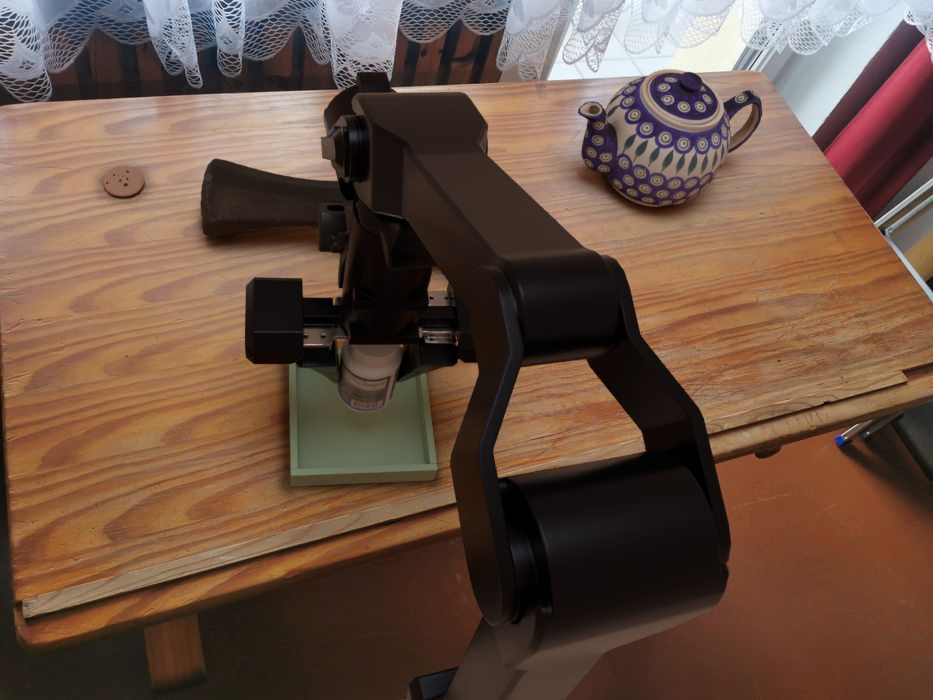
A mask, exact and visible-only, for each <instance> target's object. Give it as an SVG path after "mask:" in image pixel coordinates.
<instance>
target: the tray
mask: <svg viewBox="0 0 933 700" xmlns="http://www.w3.org/2000/svg"><path fill="white" fill-rule="evenodd" d="M338 355H339V367H340V358H341V348H338ZM288 401H289V402H288V408H289V410H288V413H289V414H288V415H289V417H288V418H289V419H288V421H289V485H290V487H309V486H310V487H312V486H334V485H351V484H352V485H357V484H379V483H381V484H382V483H383V484H384V483H403V482H427V481H430V482H431V481H434V480H435V477H436V474H437V472H438V470H439V469H438V464H437V463H438V462H437V452H436V445H435V436H434V428H433V422H432V421H433V419H432V411H431V403H430V401H431V400H430V394H429V384H428V377H427V373H424V374H421V375H419V376H416V377H414V378H411V379H409V380H406V381H404V382H401V383H397V382H396V384H395V388H394V392H393V395H392V398H391V400H390V401H389V403H388V404H387V405H386V406H385V407H383V408H382V409H380V410H378V411H376V412H372V413H360V412H356V411H354V410H352V409H350V408H349V407H347V406H346V405H345V404H344V403H343V402H342V401H341V399H340V397H339V395H338V391H337V383H333V382H332V381H330V380H329V379H328V378H327V377H325V376H324V375H322V374H321V373H318V372H316V371H314V370H312V369H310V368H300V367H298V366H297V365H296V364H295V363H293V364H288Z"/></svg>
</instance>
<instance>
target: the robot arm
mask: <svg viewBox="0 0 933 700" xmlns="http://www.w3.org/2000/svg"><path fill="white" fill-rule="evenodd" d="M322 118H323V126H324V129H325V133H326V135H325V136H320V145H321V146H320V147H321V148H320V149H321V158H322V159H324V160H327V161H330V165H331V167H332V169H333V170H334V171H335V175H336V180H337V181H338V184H339V188H340V191H341V193H342V195H343V197H344V198H345V199H346V200H348V201H352V200H353V205H351V206H348V207H344V204H335V203H319V211H318V227H317V246H318V251H319V253H330V254H331V253H332V254H339V260H338V268H337V269H338V270H337V285H338V289H341V290H342V291H341V296H336V297H335V298H334V297H312V296H311V297H310V296H309V297H307V296H304V289H303V288H304V286H303V285H304V284H303V283H304V282H303V278H302V277H268V276H267V277H265V276H264V277H262V276H261V277H259V276H254V277H253V278H251V280H250V281H249V282H248V283H247V284H246V285H245V298H244V299H245V302H244V304H245V305H244V306H245V307H244V353H245V359H246V360H247V361H248V362H250V363H251V364H253V365H289V364H293V363H295V364H296V365H297V366H298V367H300V368H310V369H312V370H314V371H316V372H318V373H321V374H322V375H324V376H325V377H327V378H328V379H329V380H330V381H332V382H333V383H339V381H340V367H339V355H338V349H339V345H338V340H345V339H349V345H401V349H402V361H401V365H400V368H399V372H398V377H397V380H396V382H397V383H401V382H404V381H406V380H409V379H411V378H414V377H416V376H419V375H421V374H424V373H426V374H427V373H430V372H433V371H436V370H439V369H444V368H453V367H455V366H456V365H457V364H458V362H459V361H460V362H462V363H464V364H477V369H478V375H477V378H476V379H475V380H476V381H475V384H474V386H473V389H472V393H471V395H470V398H469V401H468V404H467V406H466V409H465V411H464V412H465V413H464V415H463V417H462V421H461V425H460V427H459V430H458V433H457V435H456V438H455V441H454V444H453V447H452V449H451V452H450V458H449V459H450V461H449V468H450V474H451V479H452V480H451V481H452V486H453V492H454V498H455V505H456V509H457V515H458V521H459V526H460V531H461V537H462V543H463V548H464V555H465V560H466V567H467V572H468V576H469V581H470V585H471V589H472V593H473V595H474V598H475V601H476V605H477V606H478V609H479V610H480V613H481V614H482V616H481V619H480V620H479V623H478V626H477V627H476V630H475V631H474V633H473V636H472V638H471V639H470V642H469V644H468V646H467V648H466V651H465V653H464V655H463V657H462V659H461V662H460V664H459V666H455V667H454V666H453V667H451V668H447V669H443V670H438V671H435V672H431V673H427V674H423V675H419V676H415V677H414V678H413V679H412V680H411V682H409V683H408V686H407V692H406V696H404V697H401V700H566V699H567V698H568V696H569V695H570V694H571V693H572V692H573V691H574V690H575V688H576V687H577V686H578V684H580V683H581V681H582V680H583V679H584V677H585V676H586V675H587V674H588V673H589V672H590V670H591V669H592V668H593V667H594V666H595V664H596V663H597V662H598V661H599V660H600V659H601V657H602V656H603V655H604V654H605V653H606V652H608V651H611V650H613V649H616V648H619V647H621V646H624V645H627V644H630V643H633V642H635V641H638V640H642V639H644V638H647V637H650V636H652V635H655V634H658V633H661V632H664V631H667V630H670V629H672V628H675V627H677V626H679V625H682V624H684V623H686V622H688V621H690V620H692V619H694V618H696V617H698V616H701V615H703V614H705V613H707V612H709V611H711V610H713V609H714V608H715V607H716V606H718V605H719V603H720V601H721V600H722V598H723V596H724V595H725V593H726V589H727V585H728V581H729V577H730V574H731V569H730V567H729V565H728V562H729V561H730V555H731V548H732V538H731V528H730V522H729V519H728V514H727V510H726V505H725V501H724V497H723V493H722V489H721V484H720V480H719V476H718V471H717V468H716V464H715V459H714V455H713V450H712V445H711V443H710V442H711V441H710V438H709V434H708V430H707V425H706V420H705V418H704V415H703V413H702V411H701V409H700V407H699V406H698V404H696V401H694V399H693V398H692V397H691V396H690V394H689V393H688V392H687V391H686V390H685V388H684V387H683V386H682V385H681V383H680V382H679V381H678V380H677V378H676V377H675V376H674V375H673V374H672V372H671V371H670V370H669V368H668V367H667V366H666V365H665V363H664V362H663V361H662V360H661V358H660V357H659V356H658V355H657V354H656V352H655V351H654V350H653V348H652V347H651V346H650V345H649V343H648V342H647V341H646V340H645V338H644V337H643V336H642V333H641V330H640V326H639V325H640V324H639V321H638V317H637V316H638V315H637V313H636V312H637V311H636V308H635V304H634V299H633V294H632V291H631V286H630V284H629V281H628V278H627V274H626V272H625V270H624V268H623V267H622V265H621V264H620V263H619V261H618V260H617V258H615V257H613V256H610V255H609V254H600V253H599V252H597V251H596V250H594V249H591V248H588V247H585V246H584V245H583V244H582V243H580V241H578V240H577V239H576V237H574V236H573V235H572V234H571V233H570V232H569V231H568V229H566V228H565V227H564V226H563V225H562V224H561V223H560V222H559V221H557V220H556V218H555V217H553V216H552V215H551V214H550V213H549V212H548V211H547V210H546V209H545V208H544V207H543V206H542V205H540V203H538V202H537V201H536V200H535V199H534V198H533V197H532V196H531V195H530V194H529V193H528V192H527V191H526V190H525V189H524V188H523V187H522V186H521V185H520V184H519V183H517V182H516V181H515V180H514V179H513V178H512V177H511V176H510V175H509V174H508V173H507V172H506V171H505V169H503V168H502V167H501V166H499V165H498V163H497V162H495V161H494V160H493V159H492V158H491V157H490V156H489V138H488V132H489V123H488V121H487V120H486V119H485V118H484V116H483V114H482V113H481V111H479V109H478V107H477V106H476V105H475V103H474V102H473V100H472V99H471V98H470V97H469V96H468V94H467V93H465V92H464V91H463V92H462V91H421V92H420V91H417V92H416V91H415V92H412V91H411V92H409V91H407V92H397V91H396V90H395V89H393V88H392V87H391V82H390V79H389V77H388V73H387V71H357V72H356V77H355V84H354V85H352V86H349V87H347V88H345V89H343V90H341V91H340V92H339V93H337V94H336V95H335V96H333V98H332V99H331V100H330V102H329V103H328V105H327V106H326V108H325V109H324V111H323V116H322ZM435 267H438V269H439V270H440V272H441V273H442V275H443V276H444V278H445V279H446V281H447V286H446V290H429V286H430V283H431V279H432V275H433V271H434V268H435ZM581 360H585V361H586V362H587V364H588V366H589V368H590V369H591V370H592V372H593V373H594V375H596V377H597V379H598V380H600V382H601V383H602V384H603V386H604V387H605V388H606V389H607V391H608V392H609V393H610V394H611V395H612V396H613V398H614V400H616V402H617V403H618V405H620V406H621V407H622V409H623V410H624V412H625V413H626V414H627V415H628V417H629V419H631V420H632V422H633V423H634V424H635V426H636V427H637V428H638V429H639V430H640V433H641V435H642V439H643V445H644V449H645V450H644V451H643V452H637V453H631V454H626V455H621V456H615V457H608V458H604V459H603V458H602V459H598V460H592V461H585V462H580V463H574V464H569V465H564V466H558V467H551V468H546V469H539V470H535V471H529V472H524V473H518V474H517V473H516V474H512V475H507V476H501V477H499V476H498V470H497V464H496V458H495V453H494V451H495V446H496V443H497V441H498V437H499V435H500V431H501V428H502V425H503V422H504V419H505V415H506V413H507V410H508V407H509V404H510V401H511V397H512V395H513V393H514V392H513V391H514V388H515V385H516V383H517V380H518V376H519V373H520V371H521V369H522V368H528V367H537V366H544V365H552V364H559V363H560V364H561V363H567V362H574V361H575V362H576V361H581Z"/></svg>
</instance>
